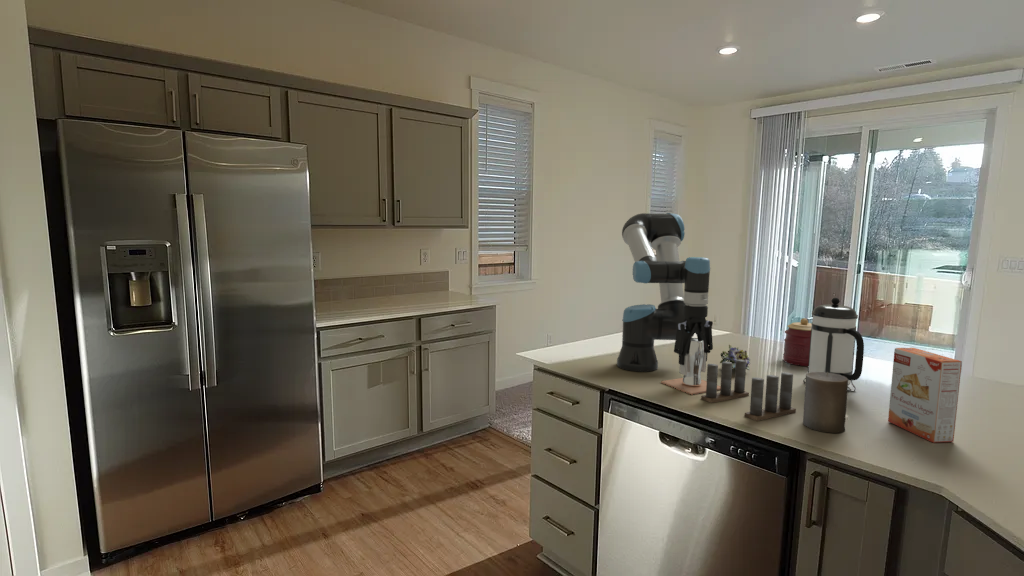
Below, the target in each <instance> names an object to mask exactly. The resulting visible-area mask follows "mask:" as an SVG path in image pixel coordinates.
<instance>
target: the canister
mask: <svg viewBox="0 0 1024 576" xmlns="http://www.w3.org/2000/svg"><path fill="white" fill-rule="evenodd" d="M811 326H812V322H811V323H810V322H809V320H808V318H801V319H800V321H799V322H798V321H797V322H796V321H795V322H791V323H790V324H788V325H787V329H785V330H784V333H785V338H783V339H784V346H783V354H782V355H783V356H782V359H783V361H784V362H785V363H787V364H790V365H794V366H799V365H800V366H803V367H808V365H809V352H810V338H811Z"/></svg>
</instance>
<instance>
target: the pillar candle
mask: <svg viewBox="0 0 1024 576" xmlns="http://www.w3.org/2000/svg"><path fill="white" fill-rule="evenodd" d="M805 378H806V379H805V383H804V384H805V385H804V387H805V388H804V399H803V415H802V418H803V419H802V423H803V425H804V427H806V426H807V427H806V428H808V427H809V428H808V429H811V430H813V429H814V431H817V432H818V431H819V432H823V433H831V434H839V433H840V432H841V433H843V432H845V431H846V416H847V415H846V414H847V401H848V390H849V389H848V387H849V385H848V378H846V377H844V376H842V375H838V374H833V373H828V372H827V373H826V372H810V373H808V372H806V373H805ZM841 433H840V434H841Z"/></svg>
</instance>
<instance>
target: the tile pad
mask: <svg viewBox="0 0 1024 576" xmlns="http://www.w3.org/2000/svg"><path fill="white" fill-rule="evenodd" d="M682 380H683V377H679V378H674V379H667V380H661V381H660V383H661V384H662V385H665V384H666V385H665V386H667V387H670V386H671V387H670V388H673V387H674V388H673V389H675V388H676V389H675V390H677V391H680V390H681V391H680V392H683V393H685V392H686V393H685V394H688V393H689V394H688V395H690V394H691V396H693V394H695V395H699V393H700V394H706V385H707V380H704V379H701V383H702V384H701V385H700V386H688V385H685V384H683V383H682ZM720 388H721V385H718V384H717V391H720Z"/></svg>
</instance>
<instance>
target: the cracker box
mask: <svg viewBox="0 0 1024 576" xmlns="http://www.w3.org/2000/svg"><path fill="white" fill-rule="evenodd" d="M962 365H963V361H962V360H958V359H955V358H952V357H947V356H945V355H941V354H937V353H934V352H930V351H926V350H923V349H921V348H920V349H919V348H916V347H897V348H896V347H894V353H893V362H892V374H891V384H890V394H889V395H890V396H889V408H888V418H887V420H888V421H887V422H888V423H891V424H893V425H895V426H897V427H899V428H901V429H902V430H903V429H904V430H905V431H908V432H910V433H912V434H913V435H916V436H918V437H920V438H922V439H925V440H926V441H929V442H931V443H951V442H952V443H954V439H955V431H956V421H957V412H958V404H959V403H958V401H959V395H960V394H959V392H960V383H961V376H962Z"/></svg>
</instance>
